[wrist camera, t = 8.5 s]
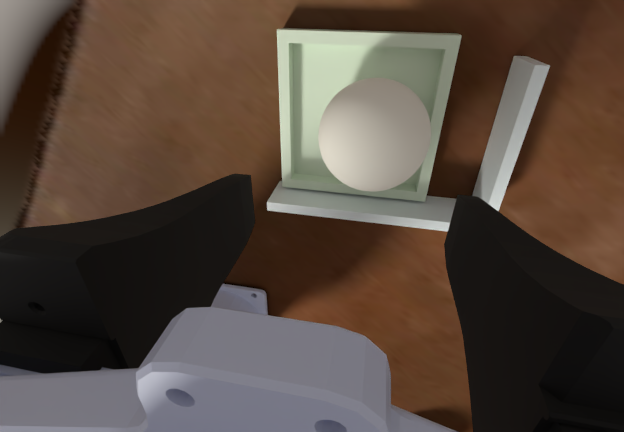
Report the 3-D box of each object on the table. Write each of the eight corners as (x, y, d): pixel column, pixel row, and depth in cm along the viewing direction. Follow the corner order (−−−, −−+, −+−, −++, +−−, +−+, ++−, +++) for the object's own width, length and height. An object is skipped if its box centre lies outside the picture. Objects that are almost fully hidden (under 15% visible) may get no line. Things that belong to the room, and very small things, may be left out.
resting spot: (286, 178, 23) (282, 186, 22) (282, 27, 19) (276, 29, 18) (423, 192, 22) (425, 201, 21) (457, 33, 17) (461, 35, 16)
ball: (312, 168, 21) (327, 216, 16) (310, 70, 18) (328, 94, 13) (400, 162, 22) (439, 207, 17) (412, 66, 19) (464, 88, 14)
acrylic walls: (280, 188, 24) (267, 210, 21) (274, 46, 19) (257, 52, 17) (478, 209, 22) (489, 236, 19) (526, 56, 17) (550, 65, 15)
